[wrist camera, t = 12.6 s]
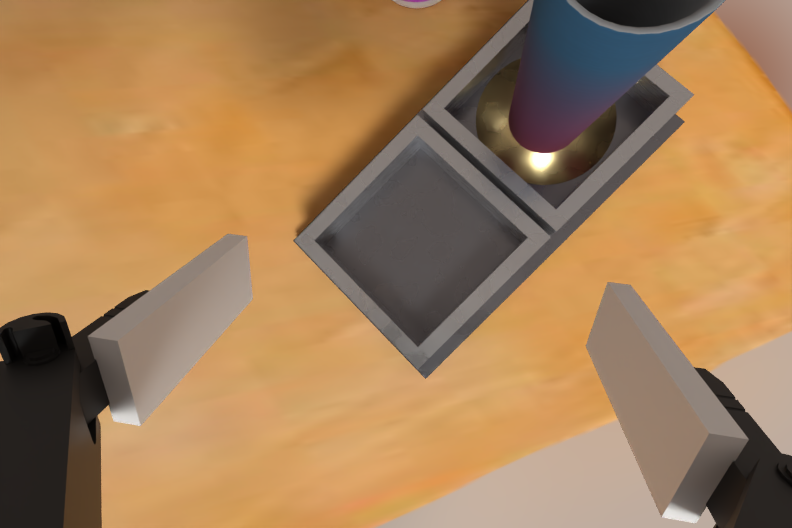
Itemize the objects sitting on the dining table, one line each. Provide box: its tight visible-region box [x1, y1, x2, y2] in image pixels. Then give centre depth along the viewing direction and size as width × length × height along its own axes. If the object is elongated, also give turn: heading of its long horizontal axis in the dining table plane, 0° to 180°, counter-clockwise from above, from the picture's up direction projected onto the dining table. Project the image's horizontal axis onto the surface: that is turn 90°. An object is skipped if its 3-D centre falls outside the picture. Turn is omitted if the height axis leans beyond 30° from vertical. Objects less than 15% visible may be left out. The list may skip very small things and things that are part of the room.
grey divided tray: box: [293, 0, 694, 379], centre depth 29 cm, size 14×25×4 cm, turn 135°
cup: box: [509, 0, 725, 153], centre depth 22 cm, size 7×7×15 cm
